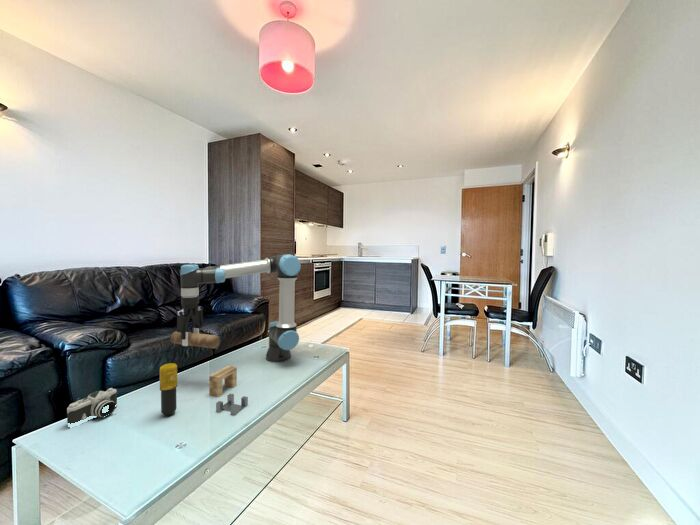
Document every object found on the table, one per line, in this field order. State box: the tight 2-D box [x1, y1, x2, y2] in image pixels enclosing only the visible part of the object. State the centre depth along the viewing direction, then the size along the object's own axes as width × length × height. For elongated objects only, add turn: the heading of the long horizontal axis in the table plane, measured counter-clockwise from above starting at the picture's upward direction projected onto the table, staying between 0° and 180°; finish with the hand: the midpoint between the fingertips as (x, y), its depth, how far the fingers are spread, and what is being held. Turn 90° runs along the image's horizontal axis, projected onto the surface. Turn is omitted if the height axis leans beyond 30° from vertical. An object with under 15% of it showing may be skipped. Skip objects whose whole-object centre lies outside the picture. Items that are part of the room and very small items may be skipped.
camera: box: [66, 387, 118, 424], centre depth 108 cm, size 16×9×10 cm, turn 162°
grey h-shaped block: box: [215, 393, 249, 416], centre depth 115 cm, size 8×9×4 cm
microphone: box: [159, 362, 178, 418], centre depth 111 cm, size 6×13×20 cm, turn 84°
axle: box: [170, 330, 221, 349], centre depth 135 cm, size 24×6×6 cm, turn 73°
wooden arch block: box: [208, 365, 238, 398], centre depth 131 cm, size 5×12×9 cm, turn 163°
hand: (190, 343), depth 136 cm, fingers closed on axle, 6 cm apart
